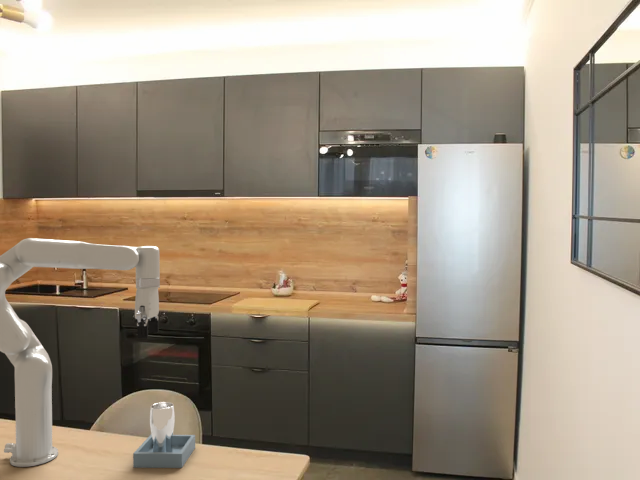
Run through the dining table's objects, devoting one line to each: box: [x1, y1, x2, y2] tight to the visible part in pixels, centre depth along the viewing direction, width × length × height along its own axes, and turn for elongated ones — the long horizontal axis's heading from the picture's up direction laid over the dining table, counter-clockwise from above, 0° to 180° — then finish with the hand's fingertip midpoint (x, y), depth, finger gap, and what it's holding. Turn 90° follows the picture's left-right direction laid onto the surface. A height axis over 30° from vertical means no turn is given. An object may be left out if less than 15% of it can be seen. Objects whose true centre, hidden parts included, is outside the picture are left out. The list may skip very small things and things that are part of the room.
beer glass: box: [149, 401, 176, 452], centre depth 153 cm, size 7×7×15 cm
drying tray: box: [132, 434, 196, 469], centre depth 155 cm, size 14×14×4 cm
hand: (148, 335), depth 171 cm, fingers open, 9 cm apart
